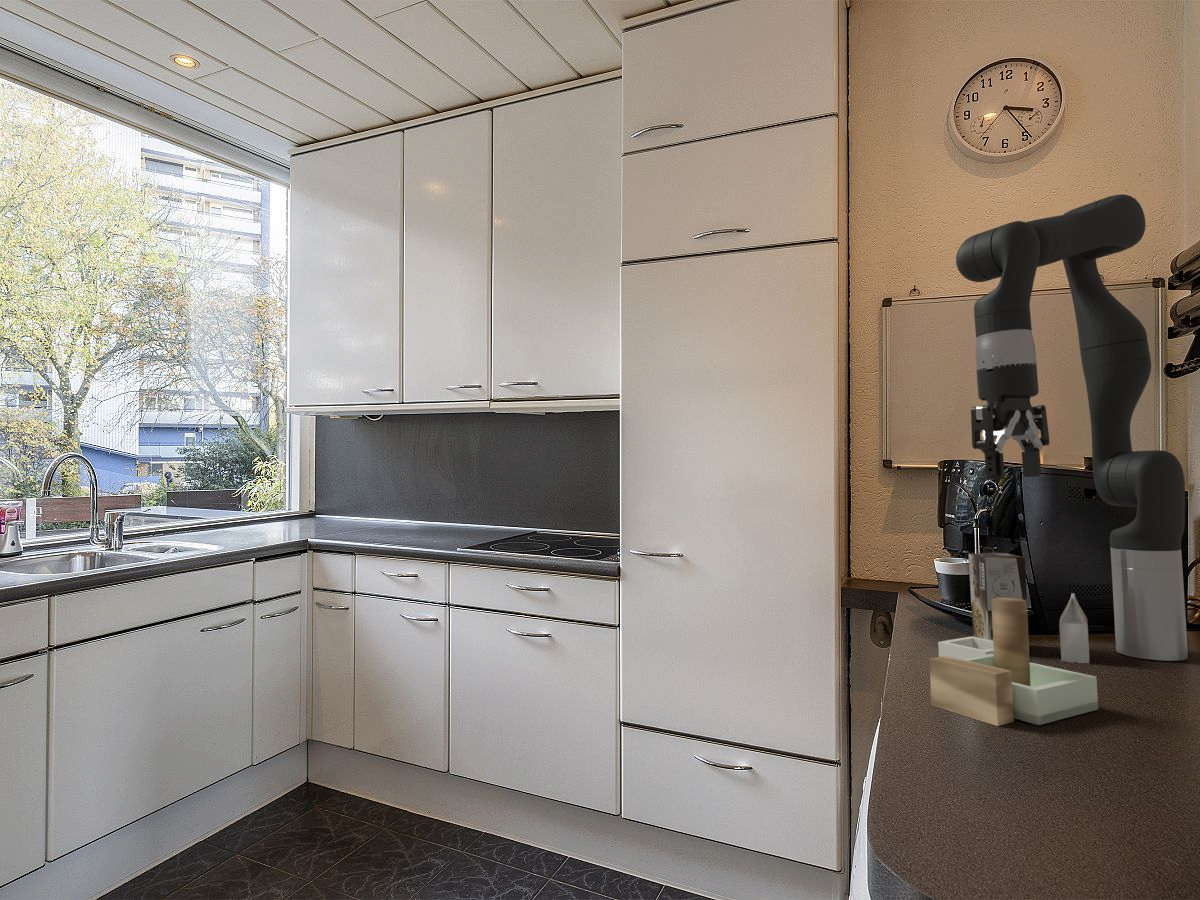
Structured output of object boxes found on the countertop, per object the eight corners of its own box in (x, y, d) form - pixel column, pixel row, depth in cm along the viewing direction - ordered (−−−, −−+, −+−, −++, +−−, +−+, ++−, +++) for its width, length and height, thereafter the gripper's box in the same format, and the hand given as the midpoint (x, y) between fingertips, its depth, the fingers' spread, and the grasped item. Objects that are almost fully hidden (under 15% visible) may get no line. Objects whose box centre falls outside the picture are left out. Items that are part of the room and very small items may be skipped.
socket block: (972, 658, 115) (971, 636, 115) (1020, 669, 108) (1019, 645, 108) (939, 664, 111) (938, 641, 112) (986, 676, 104) (985, 652, 104)
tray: (992, 682, 100) (990, 653, 100) (1098, 709, 88) (1096, 676, 88) (934, 694, 95) (933, 664, 95) (1038, 725, 82) (1036, 690, 83)
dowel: (1008, 687, 94) (1003, 596, 95) (1038, 695, 91) (1033, 600, 91) (988, 691, 92) (984, 599, 93) (1018, 699, 89) (1013, 603, 89)
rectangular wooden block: (947, 702, 92) (945, 655, 93) (1013, 721, 84) (1011, 670, 85) (931, 705, 91) (929, 658, 91) (997, 726, 83) (995, 674, 83)
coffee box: (1031, 655, 116) (1026, 556, 117) (988, 654, 117) (984, 556, 118) (1011, 643, 125) (1006, 551, 126) (971, 642, 126) (967, 551, 127)
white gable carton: (1061, 661, 112) (1058, 597, 113) (1062, 652, 118) (1059, 592, 118) (1089, 664, 110) (1085, 599, 111) (1089, 655, 116) (1085, 593, 116)
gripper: (1010, 371, 108) (1018, 477, 107) (949, 368, 101) (958, 481, 101) (1061, 362, 101) (1070, 475, 101) (1000, 359, 95) (1009, 480, 94)
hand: (1014, 478), depth 101 cm, fingers open, 8 cm apart
